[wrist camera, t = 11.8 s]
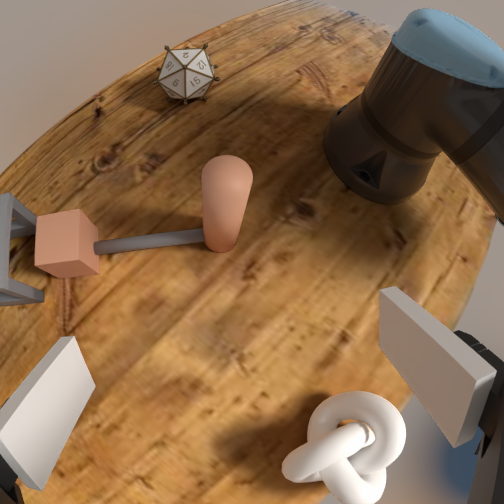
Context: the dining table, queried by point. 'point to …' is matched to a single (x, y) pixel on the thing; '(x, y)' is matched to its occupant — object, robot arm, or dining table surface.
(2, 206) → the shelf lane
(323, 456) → the white knot
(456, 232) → the dining table surface
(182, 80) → the game die
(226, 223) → the block
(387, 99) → the robot arm
